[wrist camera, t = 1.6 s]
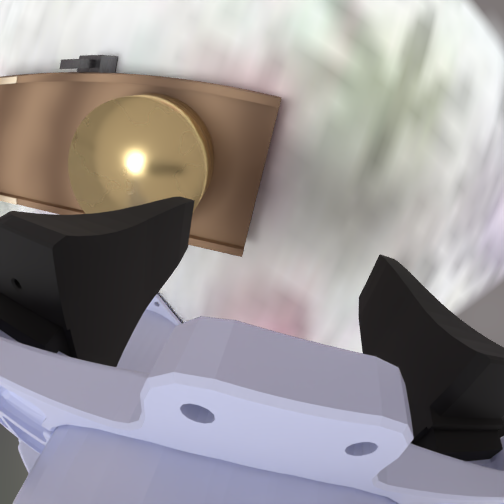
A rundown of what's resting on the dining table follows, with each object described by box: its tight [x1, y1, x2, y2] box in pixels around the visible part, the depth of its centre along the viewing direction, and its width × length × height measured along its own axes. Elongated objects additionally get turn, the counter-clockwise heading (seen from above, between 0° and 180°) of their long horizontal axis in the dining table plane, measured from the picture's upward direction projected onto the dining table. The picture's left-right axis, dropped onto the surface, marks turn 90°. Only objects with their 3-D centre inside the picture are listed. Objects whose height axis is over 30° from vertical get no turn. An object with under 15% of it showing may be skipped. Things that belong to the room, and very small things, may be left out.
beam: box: [0, 72, 281, 257], centre depth 18 cm, size 26×10×2 cm, turn 77°
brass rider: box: [68, 93, 215, 214], centre depth 16 cm, size 8×8×3 cm
